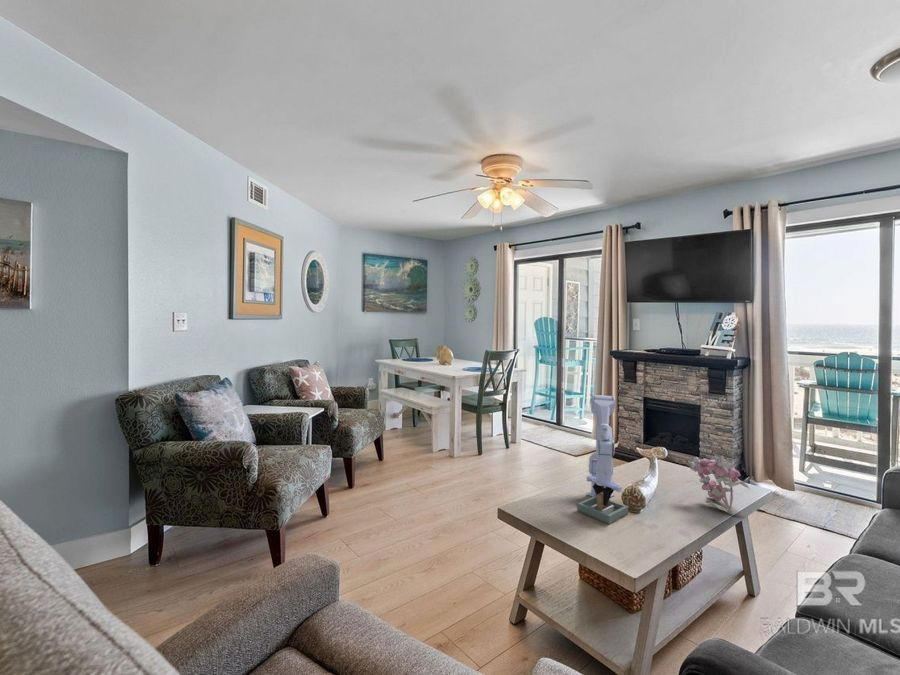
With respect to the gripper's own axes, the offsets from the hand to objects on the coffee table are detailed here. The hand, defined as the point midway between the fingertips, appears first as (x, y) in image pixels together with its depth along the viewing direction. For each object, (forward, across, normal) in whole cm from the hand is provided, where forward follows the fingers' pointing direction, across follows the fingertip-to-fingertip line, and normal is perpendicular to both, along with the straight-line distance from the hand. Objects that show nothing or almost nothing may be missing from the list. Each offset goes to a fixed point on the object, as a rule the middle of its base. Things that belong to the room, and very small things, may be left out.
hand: (602, 503), depth 176 cm
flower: (+4, +25, +47) cm, 54 cm away
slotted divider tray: (+4, 0, 0) cm, 4 cm away
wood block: (+3, 0, 0) cm, 3 cm away
